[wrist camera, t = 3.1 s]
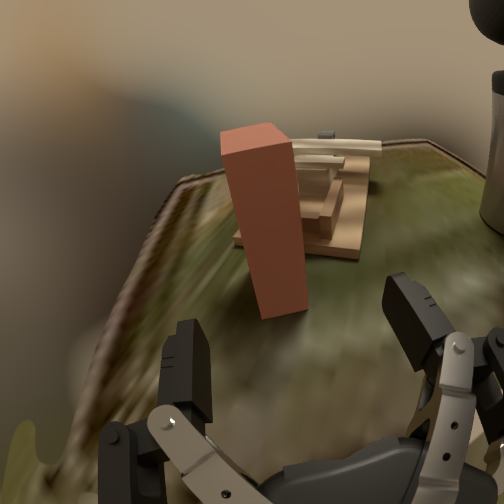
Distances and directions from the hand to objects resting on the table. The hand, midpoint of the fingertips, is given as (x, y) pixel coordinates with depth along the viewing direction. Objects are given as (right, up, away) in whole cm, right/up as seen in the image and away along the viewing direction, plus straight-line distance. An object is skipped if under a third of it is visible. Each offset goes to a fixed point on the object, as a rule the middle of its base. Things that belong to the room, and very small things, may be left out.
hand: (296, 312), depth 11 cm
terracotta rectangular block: (+1, -1, +15) cm, 15 cm away
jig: (+8, +12, +29) cm, 32 cm away
